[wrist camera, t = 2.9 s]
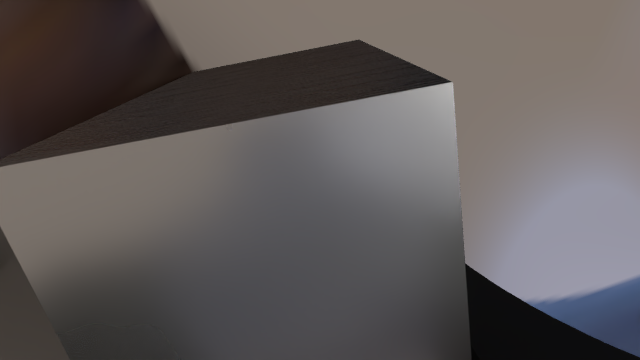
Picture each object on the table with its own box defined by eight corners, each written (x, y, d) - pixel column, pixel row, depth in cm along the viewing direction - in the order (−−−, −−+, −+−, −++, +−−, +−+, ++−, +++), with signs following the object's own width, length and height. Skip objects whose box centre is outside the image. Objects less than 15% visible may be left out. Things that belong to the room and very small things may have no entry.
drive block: (359, 39, 10) (451, 81, 3) (404, 362, 13) (493, 689, 7) (194, 71, 10) (-28, 172, 3) (283, 381, 14) (256, 717, 7)
